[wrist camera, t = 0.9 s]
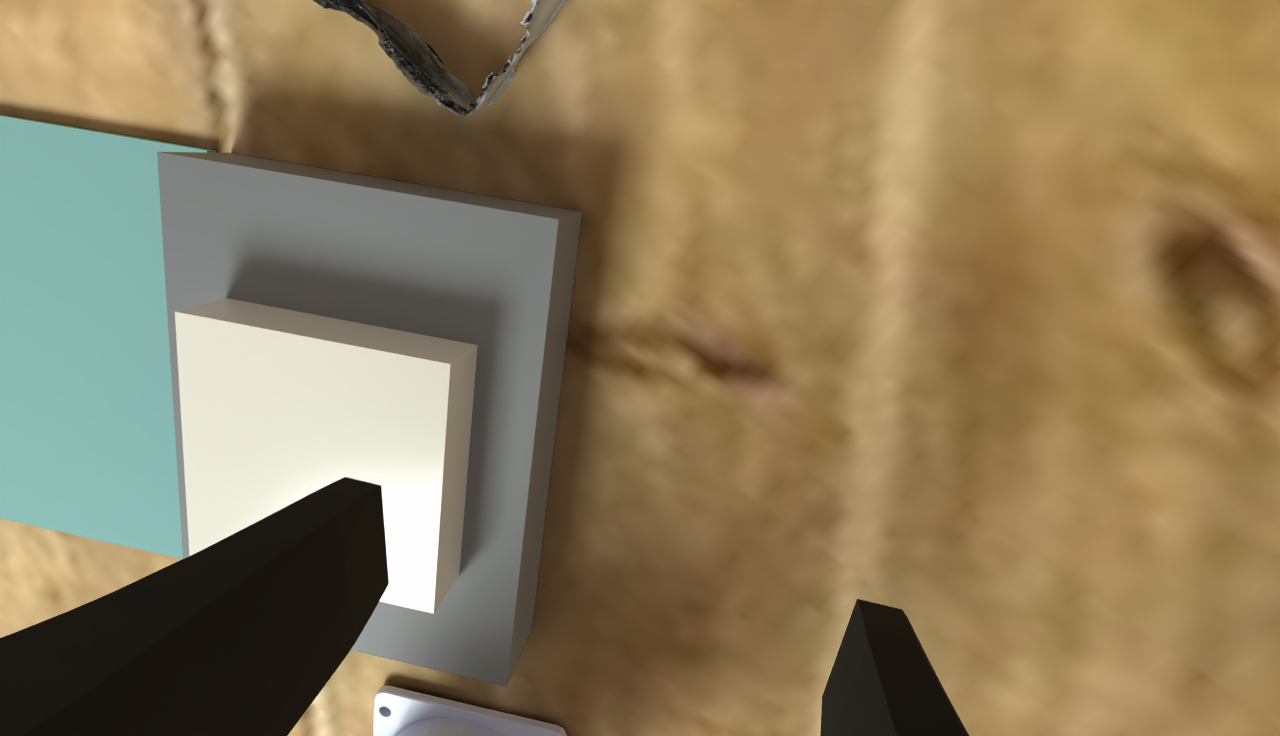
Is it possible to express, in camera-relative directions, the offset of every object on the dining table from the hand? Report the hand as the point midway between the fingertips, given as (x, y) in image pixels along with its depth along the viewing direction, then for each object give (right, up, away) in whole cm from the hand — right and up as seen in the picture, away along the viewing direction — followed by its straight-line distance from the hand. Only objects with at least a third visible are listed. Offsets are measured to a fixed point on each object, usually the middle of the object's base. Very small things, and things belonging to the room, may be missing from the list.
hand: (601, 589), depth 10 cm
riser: (-8, +2, +14) cm, 17 cm away
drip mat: (-21, +4, +15) cm, 26 cm away
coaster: (-9, +1, +12) cm, 14 cm away
